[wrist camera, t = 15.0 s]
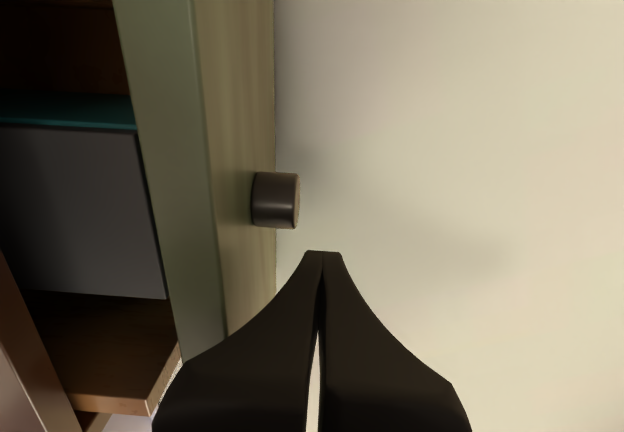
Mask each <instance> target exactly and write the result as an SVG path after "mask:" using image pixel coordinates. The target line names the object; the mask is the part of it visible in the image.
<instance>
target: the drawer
mask: <svg viewBox="0 0 624 432" xmlns="http://www.w3.org/2000/svg"><path fill="white" fill-rule="evenodd" d="M0 88H5V89H24V90H43V91H62V92H81V93H100V94H119V95H130V96H131V101H132V106H133V111H134V116H135V121H136V126H137V132H138V137H139V142H140V147H141V152H142V157H143V163H144V168H145V173H146V178H147V183H148V188H149V193H150V199H151V204H152V209H153V214H154V219H155V224H156V229H157V235H158V240H159V245H160V250H161V255H162V260H163V266H164V271H165V276H166V281H167V286H168V291H169V296H168V298H167V299H152V298H139V297H126V296H113V295H99V294H86V293H73V292H60V291H47V290H34V289H21V288H19V291H20V293H21V295H22V297H23V300H24V302H25V304H26V306H27V308H28V311H29V313H30V315H31V317H32V320H33V322H34V324H35V326H36V329H37V331H38V333H39V335H40V337H41V340H42V342H43V344H44V346H45V349H46V351H47V353H48V355H49V358H50V360H51V362H52V364H53V366H54V369H55V371H56V373H57V375H58V378H59V380H60V382H61V384H62V387H63V389H64V391H65V393H66V395H67V398H68V400H69V402H70V404H71V407H72V409H73V410H78V411H89V412H101V413H112V414H123V415H134V416H145V417H151V415H152V413H153V411H154V409H155V407H156V405H157V403H158V401H159V399H160V397H161V395H162V393H163V391H164V389H165V387H166V385H167V383H168V381H169V379H170V377H171V375H172V373H173V371H174V369H175V367H176V365H177V363H178V361H179V359H180V357H181V358H182V363H183V364H184V363H185V362H186V361H187V360H189V359H191V358H193V357H195V356H197V355H199V354H201V353H202V352H204V351H206V350H208V349H210V348H211V347H213V346H215V345H217V344H218V343H220V342H221V341H223V340H224V339H226V338H227V337H228V336H230V335H231V334H233V333H234V332H236V331H237V330H238V329H240V328H241V327H242V326H244V325H245V324H246V323H247V322H249V321H250V320H251V319H252V318H253V317H254V316H255V315H257V314H258V313H259V312H260V311H261V310H262V309H263V308H264V307H265V306H266V305H267V304H268V303H269V302H270V301H271V300H272V299H273V298H274V297H275V294H276V228H281V229H295V228H296V226H297V222H298V215H299V204H300V177H299V175H298V174H295V173H279V172H275V117H274V13H273V0H0Z"/></svg>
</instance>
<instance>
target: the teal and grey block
mask: <svg viewBox="0 0 624 432" xmlns="http://www.w3.org/2000/svg"><path fill="white" fill-rule="evenodd" d="M0 248H1V251H2V253H3V255H4V257H5V259H6V262H7V264H8V266H9V268H10V271H11V273H12V275H13V277H14V280H15V282H16V284H17V286H18V288H21V289H34V290H47V291H60V292H73V293H86V294H99V295H113V296H126V297H139V298H152V299H167V298H168V296H169V291H168V286H167V281H166V276H165V271H164V266H163V260H162V255H161V250H160V245H159V240H158V235H157V229H156V224H155V219H154V214H153V209H152V204H151V199H150V193H149V188H148V183H147V178H146V173H145V168H144V163H143V157H142V152H141V147H140V142H139V137H138V132H137V126H136V121H135V116H134V111H133V106H132V101H131V96H130V95H119V94H100V93H81V92H62V91H43V90H24V89H5V88H0Z"/></svg>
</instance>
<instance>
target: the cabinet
mask: <svg viewBox="0 0 624 432" xmlns="http://www.w3.org/2000/svg"><path fill="white" fill-rule="evenodd" d="M111 416H112V413H101V412H89V411H78V410H73V409H72V407H71V404H70V402H69V400H68V398H67V395H66V393H65V391H64V389H63V387H62V384H61V382H60V380H59V378H58V375H57V373H56V371H55V369H54V366H53V364H52V362H51V360H50V358H49V355H48V353H47V351H46V349H45V346H44V344H43V342H42V340H41V337H40V335H39V333H38V331H37V329H36V326H35V324H34V322H33V320H32V317H31V315H30V313H29V311H28V308H27V306H26V304H25V302H24V300H23V297H22V295H21V293H20V291H19V288H18V286H17V284H16V282H15V280H14V277H13V275H12V273H11V271H10V268H9V266H8V264H7V262H6V259H5V257H4V255H3V253H2V251H1V248H0V432H102V431H103V429H104V427H105V426H106V424H107V422H108V421H109V419H110V417H111Z"/></svg>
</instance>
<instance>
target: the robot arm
mask: <svg viewBox="0 0 624 432" xmlns="http://www.w3.org/2000/svg"><path fill="white" fill-rule="evenodd" d="M317 333H318V337H319V362H320V396H319V415H318V432H472V429H471V426H470V423H469V420H468V417H467V415H466V412H465V410H464V408H463V406H462V404H461V402H460V400H459V398H458V396H457V394H456V392H455V390H454V388H453V386H452V384H451V383H450V382H449V381H447V380H446V379H445V378H443V377H442V376H440V375H439V374H438V373H436V372H435V371H434V370H432V369H431V368H430V367H428V366H427V365H425V364H424V363H423V362H422V361H420V360H419V359H418V358H417V357H416V356H415V355H413V354H412V353H411V352H410V351H409V350H407V349H406V348H405V347H404V346H403V345H402V344H401V343H400V342H399V341H398V340H397V339H396V338H395V337H394V336H393V335H392V334H391V333H390V332H389V331H388V330H387V328H386V327H385V326H384V325H383V324H382V323H381V322H380V320H379V319H378V318H377V317H376V315H375V314H374V313H373V312H372V310H371V309H370V307H369V306H368V305H367V303H366V302H365V300H364V299H363V297H362V296H361V294H360V293H359V291H358V289H357V287H356V286H355V284H354V282H353V280H352V279H351V277H350V275H349V273H348V271H347V268H346V266H345V264H344V261H343V258H342V255H341V254H340V253H339V252H328V251H314V250H308V251H306V252H305V253H304V256H303V258H302V260H301V262H300V263H299V265H298V267H297V268H296V270H295V271H294V273H293V274H292V275H291V277H290V278H289V280H288V281H287V282H286V284H285V285H284V286H283V287H282V289H281V290H280V291H279V292H278V293H277V295H276V296H275V297H274V298H273V299H272V300H271V301H270V302H269V303H268V304H267V305H266V306H265V307H264V308H263V309H262V310H261V311H260V312H259V313H258V314H257V315H255V316H254V317H253V318H252V319H251V320H250V321H249V322H247V323H246V324H245V325H244V326H242V327H241V328H240V329H238V330H237V331H236V332H234V333H233V334H231V335H230V336H228V337H227V338H226V339H224V340H223V341H221V342H220V343H218V344H217V345H215V346H213V347H211V348H210V349H208V350H206V351H204V352H202V353H201V354H199V355H197V356H195V357H193V358H191V359H189V360H187V361H186V362H185V363H184V364H183V366H182V367H181V369H180V370H179V372H178V373H177V375H176V376H175V378H174V380H173V381H172V383H171V384H170V386H169V387H168V389H167V391H166V393H165V395H164V397H163V399H162V401H161V403H160V405H159V406H158V403H157V405H156V407H155V409H154V411H153V413H152V415H151V417H145V416H134V415H123V414H112V416H111V417H110V419H109V421H108V422H107V424H106V426H105V427H104V429H103V431H102V432H306V421H307V408H308V395H309V383H310V376H311V369H312V363H313V357H314V351H315V345H316V339H317Z"/></svg>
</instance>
